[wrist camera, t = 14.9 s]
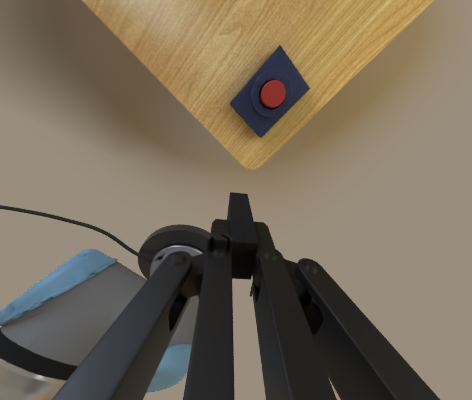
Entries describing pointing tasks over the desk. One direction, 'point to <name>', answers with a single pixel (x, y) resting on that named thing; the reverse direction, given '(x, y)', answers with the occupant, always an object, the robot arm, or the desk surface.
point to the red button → (273, 93)
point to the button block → (249, 96)
